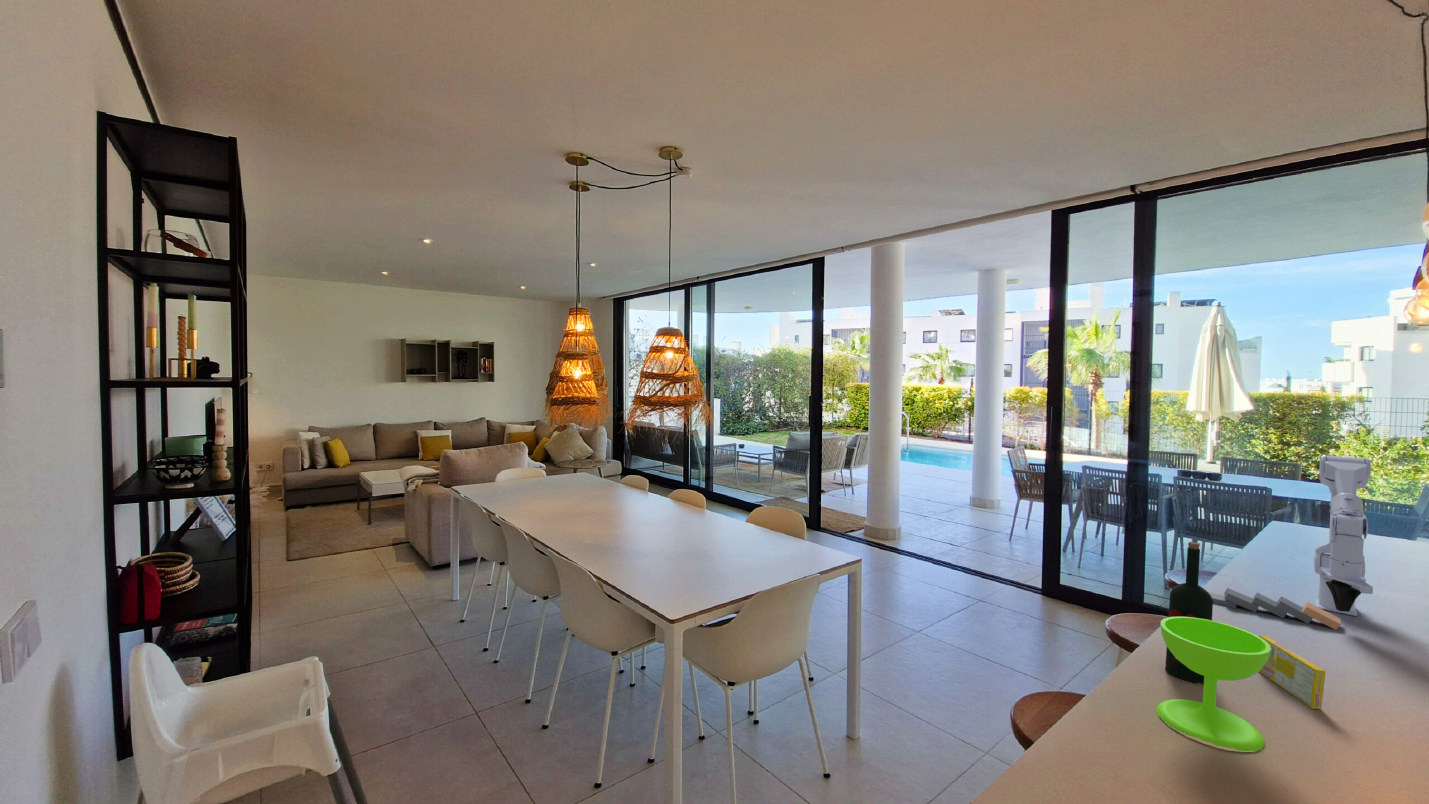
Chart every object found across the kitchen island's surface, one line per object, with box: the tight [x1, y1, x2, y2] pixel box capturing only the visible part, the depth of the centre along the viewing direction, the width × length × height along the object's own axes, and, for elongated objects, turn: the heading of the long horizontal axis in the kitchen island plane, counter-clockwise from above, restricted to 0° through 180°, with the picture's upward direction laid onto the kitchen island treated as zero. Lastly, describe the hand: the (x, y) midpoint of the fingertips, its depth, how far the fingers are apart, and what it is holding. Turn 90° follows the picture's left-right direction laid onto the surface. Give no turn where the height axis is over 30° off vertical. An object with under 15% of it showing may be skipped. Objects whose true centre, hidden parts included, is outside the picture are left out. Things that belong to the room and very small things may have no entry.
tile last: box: [1208, 591, 1237, 609], centre depth 172 cm, size 5×2×7 cm
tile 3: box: [1252, 592, 1288, 619], centre depth 165 cm, size 5×2×7 cm
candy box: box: [1258, 634, 1326, 710], centre depth 125 cm, size 16×2×8 cm, turn 168°
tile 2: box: [1276, 596, 1314, 625], centre depth 161 cm, size 5×2×7 cm
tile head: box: [1302, 601, 1342, 631], centre depth 158 cm, size 5×2×7 cm
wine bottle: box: [1164, 541, 1214, 685], centre depth 129 cm, size 8×10×30 cm
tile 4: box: [1223, 587, 1260, 613], centre depth 169 cm, size 5×2×7 cm
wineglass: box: [1155, 616, 1271, 752], centre depth 111 cm, size 16×16×18 cm
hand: (1342, 610), depth 155 cm, fingers closed
